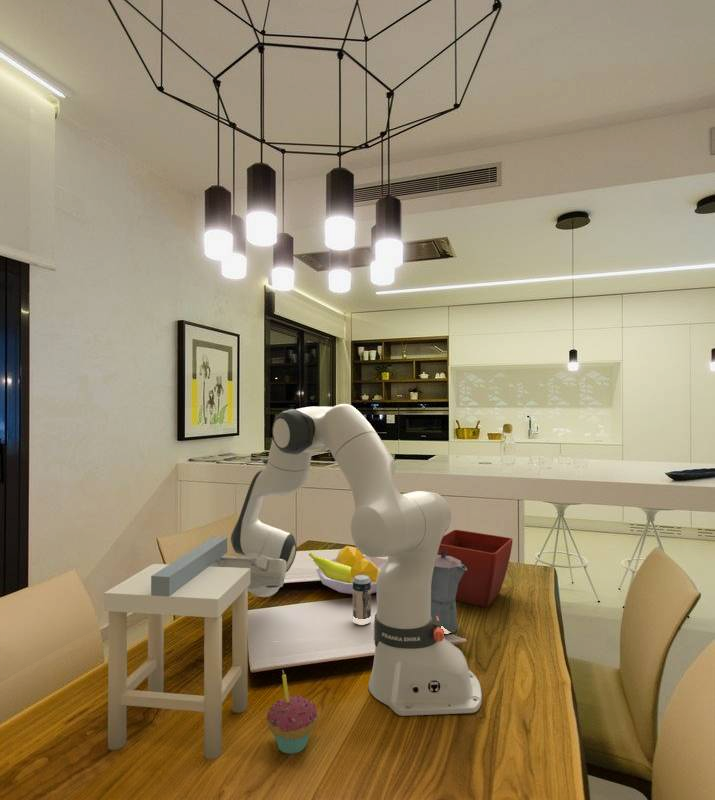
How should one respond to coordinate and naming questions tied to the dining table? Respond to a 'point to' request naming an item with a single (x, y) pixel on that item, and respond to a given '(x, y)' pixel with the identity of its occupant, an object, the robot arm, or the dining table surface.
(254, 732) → the dining table surface
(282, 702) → the cupcake
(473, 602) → the plant pot
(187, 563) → the blue-gray rectangular bar
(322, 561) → the fruit bowl
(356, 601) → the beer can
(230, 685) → the stool
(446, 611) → the moka pot
